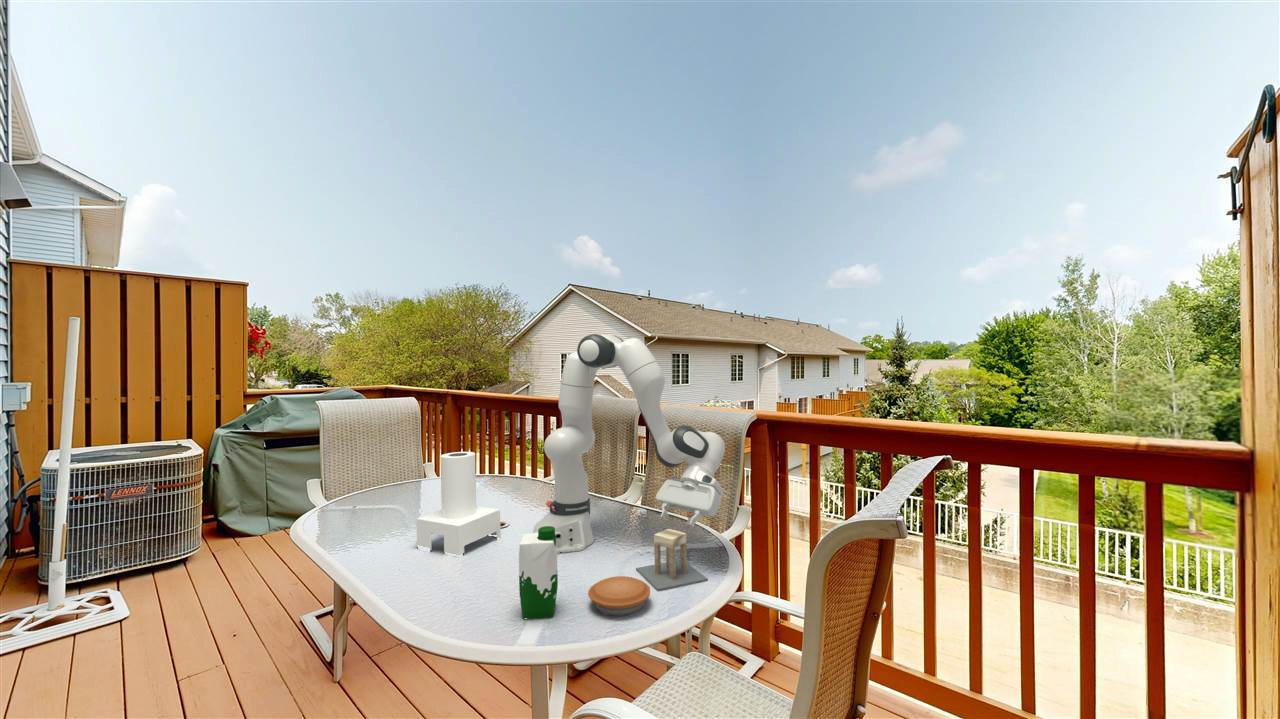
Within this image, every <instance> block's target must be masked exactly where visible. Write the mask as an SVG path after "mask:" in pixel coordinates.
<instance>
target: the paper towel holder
mask: <svg viewBox="0 0 1280 719" xmlns="http://www.w3.org/2000/svg"><path fill="white" fill-rule="evenodd" d="M476 478H477V477H476V453H475V452H473V451H457V452H456V451H455V452H448V453H444V454H443V453H442V454H441V455H440V485H441V486H440V489H441V490H440V492H441V493H440V494H441V496H440V497H441V509H440V510H438V511H435V512H433V513H430V514H426V515H424V516H421V517H418V518H416V546H417V545H419V546H423V547H428V548H431V549H432V535H441V536H443V550H444V551H443V552H447V553H451V554H456V555H461V554H463V553H464V554H465V547H466V546H467V545H469V544H471V543H474V542H476V541H478V540H480V539H482V538H485V537H488V536H487V535H489V534H491V535H497V538H498V537H500V536H501V534H502V533H501V509H499V508H491V507H485V506H479V505H478V506H477V486H476V485H477V484H476V483H477V482H476V481H477V480H476ZM501 537H502V536H501ZM497 538H496V539H497Z"/></svg>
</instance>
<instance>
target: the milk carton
mask: <svg viewBox="0 0 1280 719" xmlns="http://www.w3.org/2000/svg"><path fill="white" fill-rule="evenodd" d="M518 577H519V578H518V580H519V581H518V583H519V586H518V587H519V589H518V590H519V591H518V592H519V602H520V608H521V614H522V619H523V618H537V619H547V618H548V619H549V618H551V619H552V617H553V618H554V615H555V608H556V603H557V594H558V589H559V588H558V587H559V586H558V585H559V584H558V583H559V582H558V577H559V576H558V553H557V546H556V533H555V528H554V527H552V526H545V527H541V528H539V529H538V532H536V533H533V532H532V533H523V535H522V538H521V540H520V543H519V550H518ZM546 617H547V618H546Z"/></svg>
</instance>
